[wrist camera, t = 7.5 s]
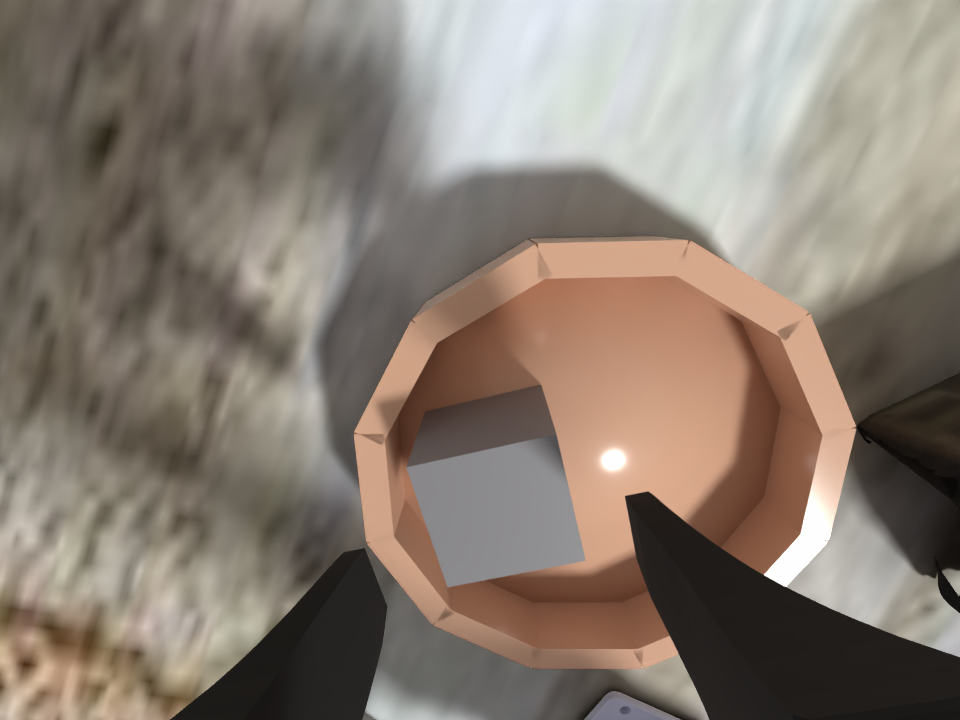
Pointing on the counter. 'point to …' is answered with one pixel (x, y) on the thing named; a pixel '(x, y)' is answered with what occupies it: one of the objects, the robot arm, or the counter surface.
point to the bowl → (614, 433)
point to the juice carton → (925, 444)
